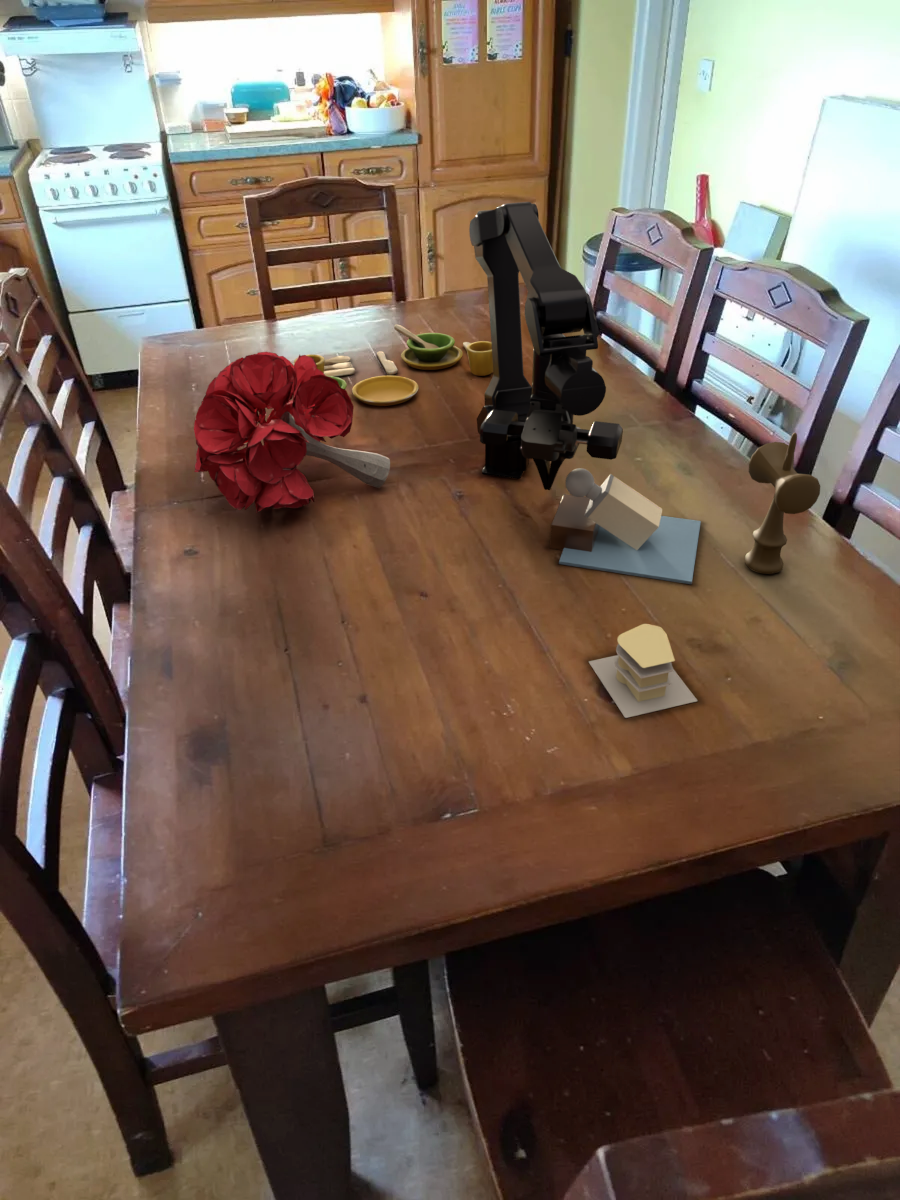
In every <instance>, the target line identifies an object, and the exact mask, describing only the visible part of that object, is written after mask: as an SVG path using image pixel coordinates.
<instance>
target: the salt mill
mask: <svg viewBox="0 0 900 1200" xmlns="http://www.w3.org/2000/svg"><path fill="white" fill-rule="evenodd" d="M565 477H566V478H565V488H566V490H567V492H568V493H569V495H573V496H575V497H588V498H589V499H590V501H589V504H588V507H587V510H586V513H585V516H586V517H588V518H589V519H591V520H592V521H594V522H595V523H597V524H598V525H600V526H601V527H603V528H604V529H606V530H607V531H609V532H610V533H612V534H613V535H615V536H616V537H618V538H619V539H621V540H622V541H624V542H625V543H627V544H628V545H630V546H631V547H633V548H634V549H636V550H638V549H639V548H640V547H641V546H642V545H643V544H644V542H645V541H646V540H647V539H648V538H649V537H650V536H651V535H652V534H653V533H654V532H655V531H656V529H657V528H658V527H659V524H660V519H661V516H662V514H663V508H662V507H660V506H659V505H657V504H656V503H655V502H653V501H652V500H650V499H648V497H646V496H644V495H642V494H641V493H640V492H638V491H637V490H635V489H634V488H633V487H631V486H630V485H628V484H627V483H625V482H623V481H622V480H620V479H619V478H618V477H616V476H614V475H613V474H612V473H610V474H609V475H608V476H607V477H606V478H605V480H604V481H603V483H602V484H601V485H598V484H597V483H596V482H595V477H594V475H593V474H592V472H591V471H589V470H588V469H586V468H583V467H581V468H580V467H578V468H574V469H573V470H571V471H570V472H569V473H568V474H567V475H566V476H565Z"/></svg>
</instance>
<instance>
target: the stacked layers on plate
mask: <svg viewBox="0 0 900 1200" xmlns="http://www.w3.org/2000/svg"><path fill="white" fill-rule="evenodd" d="M615 652H616V655H611V656H607V657H603V658H598V659H594V660H588V663H589V665H590V666H591V668H592V669H593V671H594V672H595V674H596V675H597V677H598V679H599V680H600V682H601V684H602V685H603V687H604V688H605V690H606V691H607V693H608V694H609V696H610V697H611V698H612V700H613V702H614V703H615V704H616V706H617V707H618V709H619V711H620V712H621V714H622V715H623V717H624V718H625V719H627V718H631V717H636V716H640V715H644V714H645V715H646V714H649V713H653V712H657V711H662V710H666V709H670V708H674V707H679V706H682V705H686V704H692V703H696V702H699V701H698V699H697V698H696V697H695V695H694V694H693V693H692V691H691V690H690V689H689V687H688V686H687V685H686V683H685V682H684V681H683V680H682V678H681V677H680V676H679V675H678V672H677V671H676V670H675V669H674V667H673V663H672V662H675V661H676V659H675V656H674V653H673V650H672V647H671V643H670V640H669V636H668V635H667V632H666V631H665V630H664V629H663V628H662V626H659V625H654V624H649V623H642V624H640V625H638V626H635V627H633V628H631V629H628V630H626V631H624V632H622V633H621V634H619V635H618V636H617V645H616V648H615Z"/></svg>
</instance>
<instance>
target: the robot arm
mask: <svg viewBox="0 0 900 1200" xmlns="http://www.w3.org/2000/svg"><path fill="white" fill-rule="evenodd" d="M468 230H469V231H468V232H469V239H470V244H471V246H472V247H473V249H474V250H473V251H474V258H475V260H476V261H477V263H478V265H479V266H480V267H481V269H482V270H483V272H484V273H485V275H486V279H487V293H488V310H489V311H488V312H489V327H490V328H489V329H490V342H491V344H492V360H493V372H492V378H491V379H490V382H489V384H488V385H487V388H486V389H485V392H484V393H483V394H484V395H483V396H484V397H483V398H484V405H483V406H482V408H481V409H480V411H479V413H478V415H477V417H476V428H477V433H478V435H479V442H480V443H481V444H482V445H484V467H483V468H482V470H481V474H482V475H483V476H489V477H490V476H491V477H498V478H505V479H514V480H521V478H522V476H523V475H524V472H526V471H527V469H528V468H529V466H530V460H533V462H534V465H535V467H536V470H537V472H538V475H539V477H540V481H541V483H542V487H543V489H544V490H545V491H551V490H552V487H553V485H554V482H555V480H556V477H557V475H558V472H559V470H560V467H561V466H562V464H563V463H564V461H565V460H571V459H574V457H575V455H576V453H577V451H578V449H579V445H586V453H587V454H588V455H589V456H590V457H591V458H595V459H603V460H615V459H617V457H618V454H619V451H620V448H621V445H622V442H623V435H624V434H623V433H624V429H623V427H622V426H621V424H620V423H616V422H607V421H597V420H594V421H593V424H592V426H591V427H590V429H585V428H581V427H579V426H577V425H576V423H575V424H574V416H578V417H581V416H586V415H589V414H591V413H592V412H595V410H596V409H598V408H599V407H600V406H601V404H602V403H603V401H604V399H605V396H606V392H607V386H606V383H605V380H604V378H603V376H602V375H601V374H600V373H599V372H598V371H597V370H596V369H595V368H594V367H593V364H594V362H593V361H594V360H593V359H592V358H591V357H590V356H588V355H587V351H591V350H598V349H599V341H598V337H599V335H600V329H599V326H598V321H597V317H596V314H595V310H594V305H593V303H592V300H591V297H590V295H589V294H588V293H589V292H587V291H586V289H585V287H584V286H583V284H582V282H581V281H580V280H579V278H578V276H576V275H575V274H574V273H572V272H569V271H567V270H566V269H563V268H562V267H561V265H560V263H559V261H558V259H557V256H556V255H555V252H554V250H553V248H552V246H551V244H550V242H549V239H548V237H547V235H546V233H545V231H544V229H543V226H542V224H541V222H540V219H539V209H538V206H537V204H536V203H532V202H531V201H522V202H509V203H503V204H502V205H499V206H498V207H496V208H495V209H486V210H483V209H482V210H478V211H477V213H476V215H475V217H473V218H472V219H471V220H470V221H469V229H468ZM519 274H520V275H519ZM520 276H521V278H522V281H523V283H524V286H525V288H526V290H527V292H526V293H527V294H526V299H525V303H524V319H525V323H526V328H527V331H528V335H529V337H530V340H531V343H532V347H533V349H532V350H533V351H532V352H533V353H532V374H531V384H530V383H529V381H528V380H527V378H526V376H525V375H524V359H523V357H524V356H523V339H522V338H523V336H522V319H521V297H520V278H519V277H520ZM581 331H583V334H577V335H568V336H566V335H565V334H574V333H580V332H581Z"/></svg>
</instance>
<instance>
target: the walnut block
mask: <svg viewBox="0 0 900 1200" xmlns="http://www.w3.org/2000/svg"><path fill="white" fill-rule="evenodd" d="M589 501H590V499H589V498H588V497H586V496H584V497H575V496H573V495H571V494H567V493H563V495H562V496H561V499H560V501H559V504H558V507H557V509H556V511H555V514H554V517H553V519H552V521H551V524H550V533H549V534H550V535H549V549H550V550H551V549H552V550H557V551H563V549H564V548H569V549H576V550H582V551H589V552H592V549H593V546H594V543H595V540H596V537H597V534H598V530H599V527H600V525H598V524H597V523H595V522H594V521H592V520H591V519H589V518H588V517H586V516H585V513H586V510H587V507H588V504H589Z"/></svg>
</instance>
